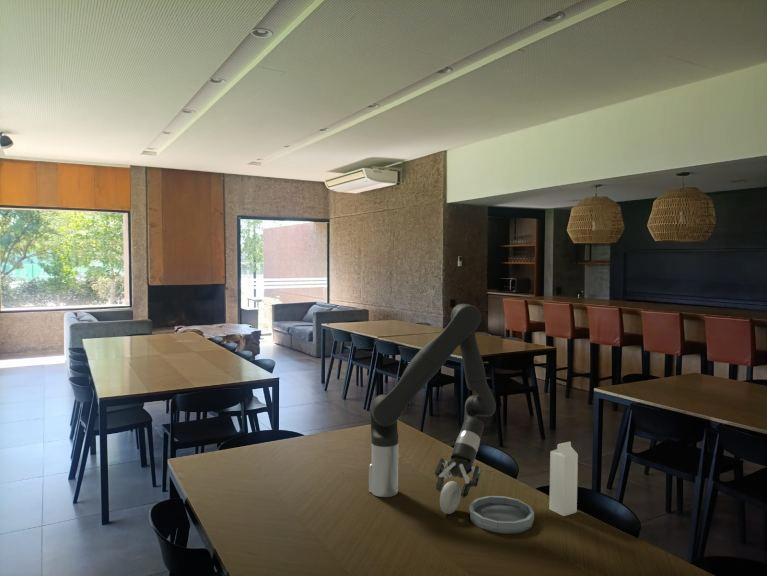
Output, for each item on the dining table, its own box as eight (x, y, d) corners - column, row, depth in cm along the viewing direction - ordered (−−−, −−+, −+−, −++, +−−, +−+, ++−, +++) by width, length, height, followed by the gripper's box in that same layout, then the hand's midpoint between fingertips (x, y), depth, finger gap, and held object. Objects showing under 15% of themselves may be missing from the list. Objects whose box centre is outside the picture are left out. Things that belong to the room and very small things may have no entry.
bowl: (459, 522, 169) (459, 512, 169) (484, 500, 185) (484, 491, 185) (520, 539, 159) (520, 528, 159) (541, 515, 175) (541, 505, 175)
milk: (576, 512, 177) (578, 444, 176) (563, 516, 174) (565, 447, 173) (562, 505, 182) (563, 438, 181) (548, 509, 179) (550, 441, 178)
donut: (446, 520, 171) (447, 488, 171) (437, 517, 173) (437, 485, 173) (462, 508, 179) (462, 478, 179) (453, 506, 181) (453, 475, 181)
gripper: (443, 438, 186) (426, 483, 177) (483, 445, 179) (467, 493, 170) (450, 449, 191) (434, 493, 182) (489, 457, 183) (474, 504, 174)
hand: (450, 493), depth 176 cm, fingers open, 8 cm apart
